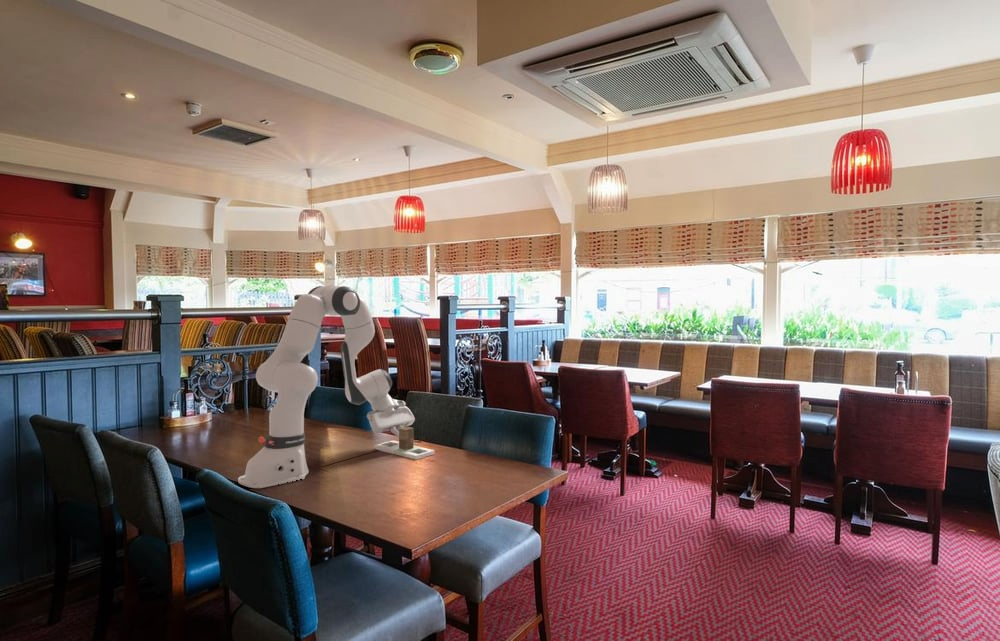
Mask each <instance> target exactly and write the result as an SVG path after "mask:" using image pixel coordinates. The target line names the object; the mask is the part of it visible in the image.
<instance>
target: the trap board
mask: <svg viewBox="0 0 1000 641" xmlns="http://www.w3.org/2000/svg"><path fill="white" fill-rule="evenodd" d="M373 449H374V450H378V451H380V452H384V453H388V454H392V455H396V456H400V457H405V458H407V459H411V460H414V461H415V460H420V459H424V458H426V457H430V456H434V455H435V453H436V452H435V451H436V450H434V449H430V448H427V447H422V446H419V445H418V446H417V445H414V444H413V448H412V449H408V450H403V449H399V440H394V439H393V440H390V441H385V442H382V443H378V444H375V445H374V448H373Z"/></svg>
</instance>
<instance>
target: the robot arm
mask: <svg viewBox="0 0 1000 641" xmlns="http://www.w3.org/2000/svg"><path fill="white" fill-rule="evenodd" d="M326 315H327V316H333V317H335V316H337V317H338V316H339V317H340V318H341V321H342V324H343V328H344V333H345V334H344V340H343V341H342V343H341V344H340V354H341V356H340V357H341V362H342V370H343V371H342V372H343V378H344V394H345V397H346V398H347V400H348V402H349V403H350V404H353V405H356V406H360V405H362V404H364V403H366V402H368V403H370V406H371V409H372V410H371V411H368V412H367V414H366V418H367V420H368V422H369V426H370V428H371V430H372V432H373V433H375V434H379V433H383V432H386V431H387V432H388V431H390V432H391V433H392V434H394V435H395V436H396V438H398V439H399V428H403V427H409V426H412V425H413V423H414V422H415V421H416V418H415V416H414V414H413V412H412V411H411V409H410V408H409V407H408V406H406V405H407V404H406V401H404V400H399V399H394V398H393V397H391V395H390V394H389V392H390V390H391V388H392V386H393V380H392V378H391V375H390V374H389V373H388V371H387V370H384V369H382V368H379V369H375V370H373V371H371V372H368V373H367V374H364V375H361V376H359V377H357V372H356V371H357V370H356V366H355V365H356V364H355V360H356V358H357V356H358V355H359V353H361V351H362V350H363V349H365V347H367V346H368V345H369V344H370V342H371V341H372V340H373V339H374V337H375V333H376V329H375V328H376V327H375V324H374V320H373V316H372V314H371V311H370V310H369V307H368V305H367V303H366V301H365V299H364V298H363V297H362V296H360V295H358V292H357V291H355V289H353V288H351V287H349V286H345V285H343V286H339V285H333V284H331V285H319V286H315V287H314V288H312V289H310V290H309V291H308V293H303V294H301V295H300V296H298V298H297V300H296V301H295V303H294V305H293V307H292V310H291V311H290V314H289V316H288V318H287V322H286V325H285V327H284V331H283V333H282V337H281V338H280V341H279V342H278V345H277V346H276V348H275V349H274V351H273V352H272V354H270V356H269V357H268V358H267V359H266V361H264V362H263V363H261V364H260V365H259V366H258V368H257V369H256V373H255V380H256V382H257V384H258V385H259V386H260V387H262V388H263V389H265V390H266V391H269V392H274V393H277V399H276V403H275V405H274V407H272V408H271V409H270V411H269V414H268V416H269V417H268V419H269V420H268V424H269V427H268V428H269V430H268V431H269V433H268V435H267V437H264V436H259V437H258V440H257V441H258V443H260V444H264V445H263V447H262V448H261V449H260V450H259V451H258V452H257V453H256V454H254V456H252V457H251V458H250V459H249V460H248V461H247V462H246V466H245V467H246V468H245V472H244V475H240V476H239V477H238V479H237V482H238V484H240V485H242V486H245V487H248V488H252V489H264V488H268V487H273V486H278V484H279V485H282V484H283V485H284V484H288V483H292V481H293V482H297V481H296V480H298V481H301V480H300V479H302V480H305V478H306V476H307V475H308V474H309V472H310V471H309V468H308V465H307V460H306V452H305V445H306V432H305V431H304V429H305V428H304V426H305V408H306V404H307V402H308V401H307V400H308V398H309V396H310V395H311V394H312V393H313V392H314V390H315V389H316V388H317V385H318V381H319V376H318V373H317V371H316V369H314V368H313V367H312V366H310V365H307V364H305V363H303V362H302V361H303V359H304V358H305V357H306V356H307V355H309V354H310V353H311V352H312V351H313V350H314V349H315V344H316V342H317V339H318V336H319V332H320V329H321V326H322V322H323V319H324V318H325V317H326ZM287 482H288V483H287Z"/></svg>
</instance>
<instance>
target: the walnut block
mask: <svg viewBox="0 0 1000 641" xmlns="http://www.w3.org/2000/svg"><path fill="white" fill-rule="evenodd" d="M398 431H399V438H398V442H399V449H403V450H408V449H412V448H413V445H414V444H415V443H414V439H415V437H414V433H415V432H414V427H409V426H405V427H403V428H399V430H398Z"/></svg>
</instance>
